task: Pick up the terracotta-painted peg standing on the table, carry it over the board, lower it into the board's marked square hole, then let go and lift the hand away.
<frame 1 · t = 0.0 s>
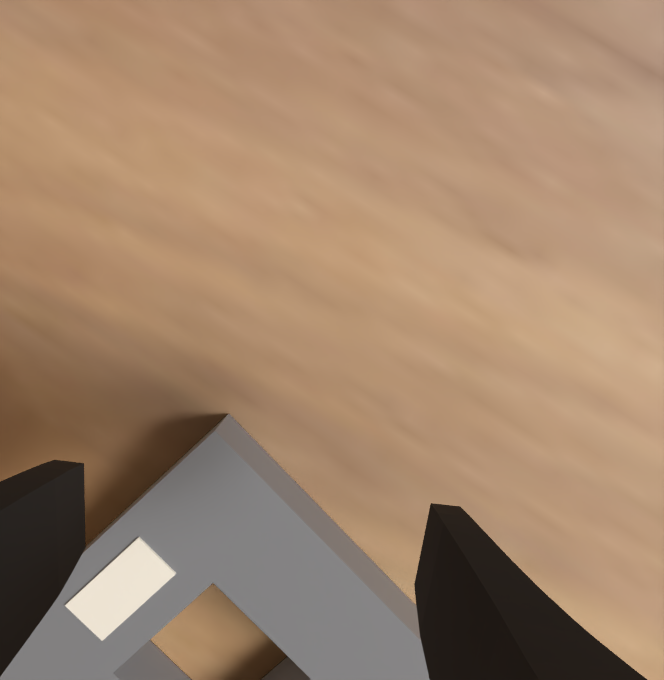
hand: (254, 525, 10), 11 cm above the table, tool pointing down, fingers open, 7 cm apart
hole board: (225, 631, 22), on the table
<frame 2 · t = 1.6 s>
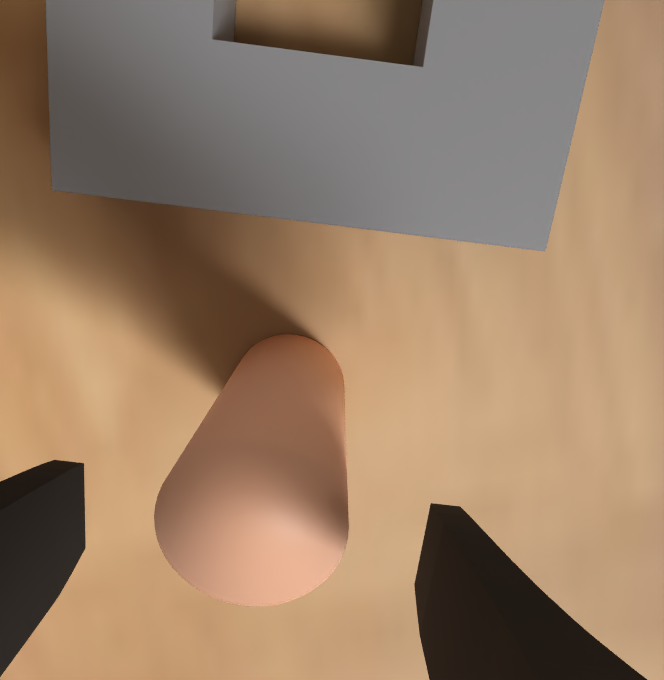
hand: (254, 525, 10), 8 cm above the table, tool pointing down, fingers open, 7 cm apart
peg: (289, 387, 18), on the table
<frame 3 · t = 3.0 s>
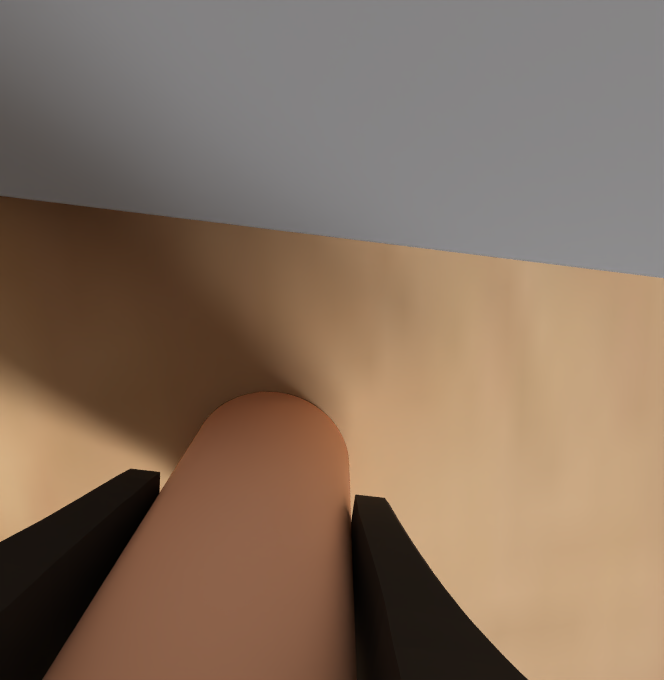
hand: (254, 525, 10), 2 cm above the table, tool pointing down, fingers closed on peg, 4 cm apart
peg: (270, 464, 12), on the table, touching gripper
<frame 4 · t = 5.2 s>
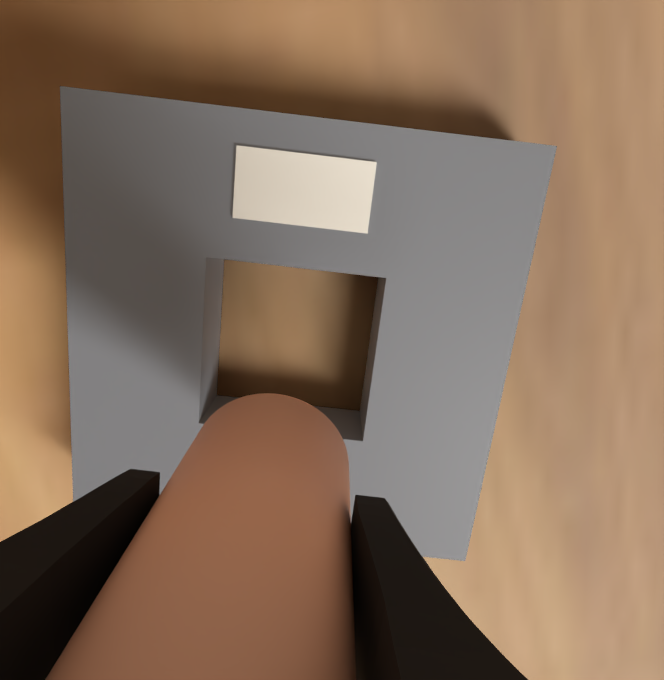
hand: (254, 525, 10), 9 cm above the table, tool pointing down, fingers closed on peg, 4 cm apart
peg: (270, 466, 12), point 6 cm above the table, touching gripper
hole board: (295, 334, 18), on the table
when the fingers open (3 cm above the table, at t = 7.2 s): peg stays where it is, resting in hole board.
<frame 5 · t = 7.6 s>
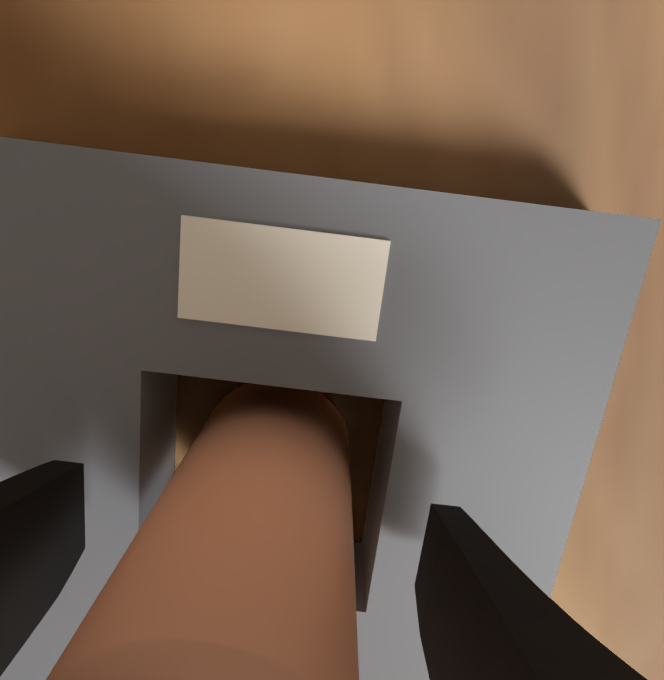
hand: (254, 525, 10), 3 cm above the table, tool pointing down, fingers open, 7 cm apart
peg: (276, 446, 13), resting in hole board
hole board: (275, 446, 13), on the table
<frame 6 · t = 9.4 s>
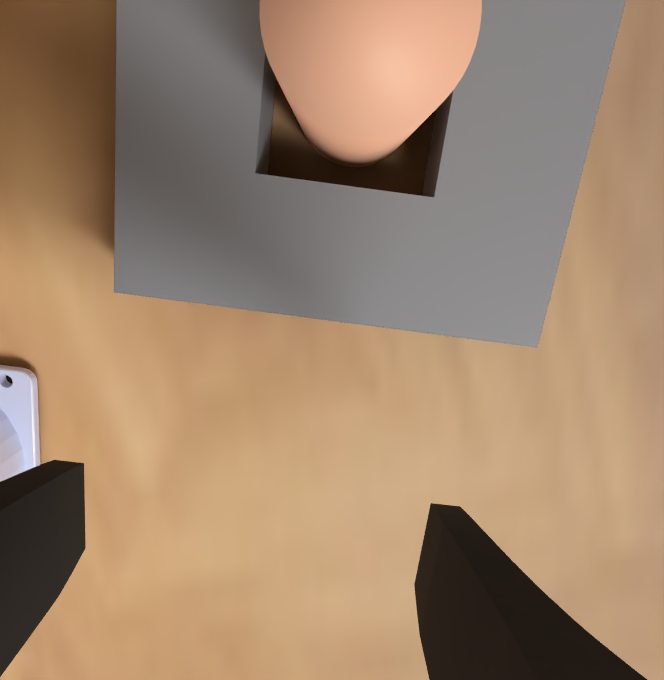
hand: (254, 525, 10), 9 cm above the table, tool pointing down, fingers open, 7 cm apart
peg: (356, 104, 16), resting in hole board
hole board: (355, 104, 16), on the table
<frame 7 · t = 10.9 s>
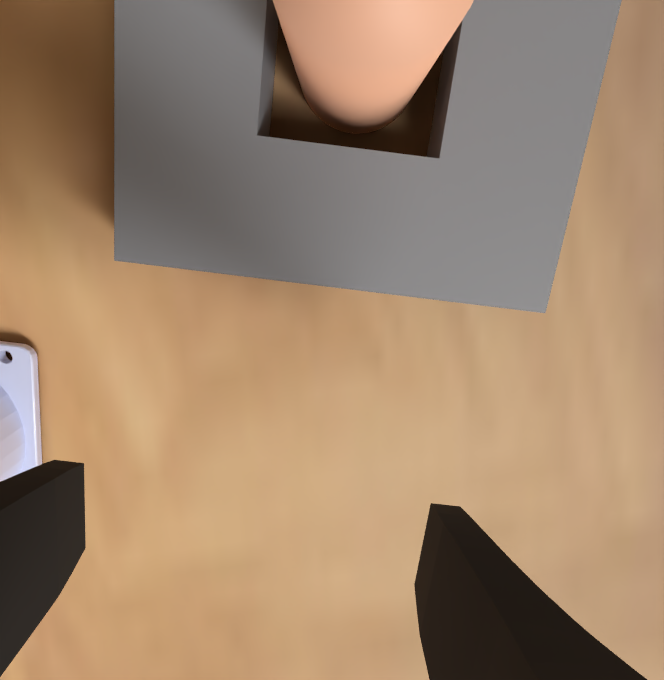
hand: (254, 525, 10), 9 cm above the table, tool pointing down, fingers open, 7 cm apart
peg: (358, 69, 16), resting in hole board
hole board: (357, 68, 16), on the table
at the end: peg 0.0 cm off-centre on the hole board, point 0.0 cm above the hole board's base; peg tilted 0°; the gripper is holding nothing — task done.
